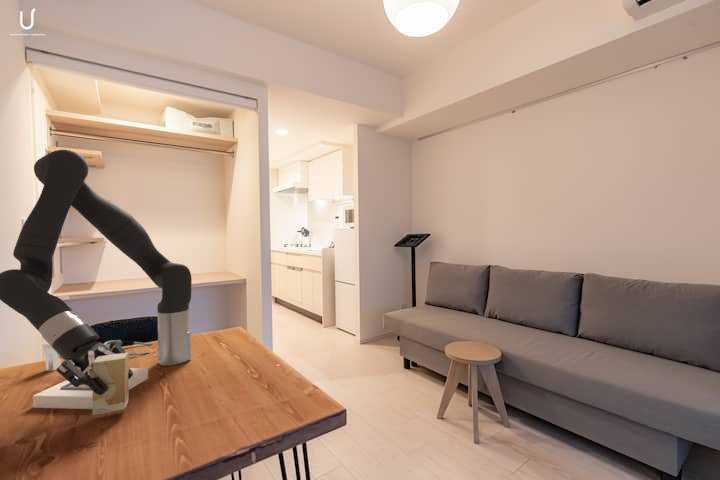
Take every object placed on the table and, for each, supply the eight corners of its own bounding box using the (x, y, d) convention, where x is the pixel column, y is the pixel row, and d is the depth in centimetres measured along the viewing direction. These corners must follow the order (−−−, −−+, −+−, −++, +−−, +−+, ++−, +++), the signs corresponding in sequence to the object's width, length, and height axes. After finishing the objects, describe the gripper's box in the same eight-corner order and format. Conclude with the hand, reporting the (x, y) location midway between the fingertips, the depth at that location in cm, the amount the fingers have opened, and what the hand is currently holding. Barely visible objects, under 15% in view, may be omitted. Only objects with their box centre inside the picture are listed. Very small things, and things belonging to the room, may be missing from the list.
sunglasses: (106, 350, 120) (108, 337, 121) (153, 349, 127) (155, 336, 127) (96, 363, 108) (98, 348, 108) (148, 361, 115) (150, 347, 115)
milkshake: (52, 372, 100) (52, 341, 100) (39, 371, 101) (38, 340, 101) (68, 367, 105) (68, 336, 105) (55, 366, 106) (55, 335, 106)
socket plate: (94, 377, 96) (94, 366, 96) (147, 378, 95) (147, 367, 95) (33, 407, 80) (32, 394, 80) (97, 409, 78) (97, 395, 78)
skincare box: (92, 416, 72) (90, 362, 72) (97, 407, 76) (95, 356, 76) (126, 409, 75) (125, 357, 75) (130, 400, 79) (128, 351, 79)
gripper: (48, 333, 68) (101, 388, 68) (106, 315, 83) (150, 361, 82) (26, 357, 69) (79, 412, 68) (87, 335, 83) (131, 381, 83)
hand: (117, 384), depth 75 cm, fingers closed on skincare box, 6 cm apart
